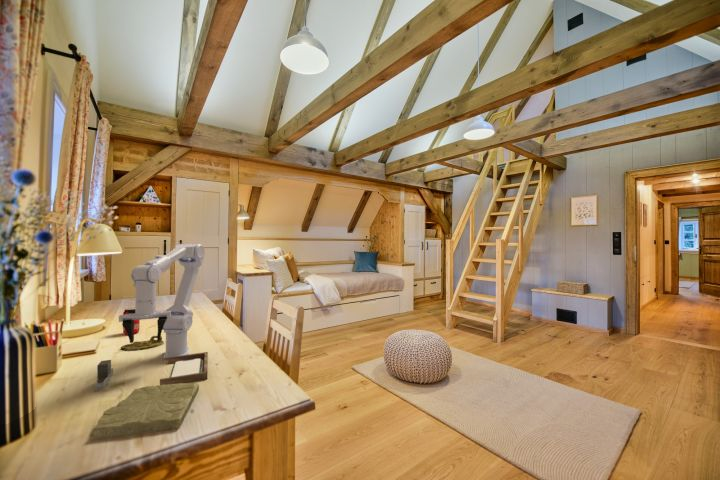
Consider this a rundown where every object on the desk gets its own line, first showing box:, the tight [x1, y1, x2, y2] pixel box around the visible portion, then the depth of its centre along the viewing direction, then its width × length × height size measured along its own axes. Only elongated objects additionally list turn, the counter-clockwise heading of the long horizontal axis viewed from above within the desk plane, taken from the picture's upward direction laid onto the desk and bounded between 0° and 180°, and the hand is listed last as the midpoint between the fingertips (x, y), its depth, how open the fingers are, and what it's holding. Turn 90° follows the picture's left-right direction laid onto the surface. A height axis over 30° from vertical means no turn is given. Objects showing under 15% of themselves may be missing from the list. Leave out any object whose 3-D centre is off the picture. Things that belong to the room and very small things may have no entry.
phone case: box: [169, 358, 203, 378], centre depth 108 cm, size 9×2×16 cm
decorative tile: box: [90, 382, 200, 441], centre depth 82 cm, size 19×20×4 cm
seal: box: [120, 335, 165, 352], centre depth 132 cm, size 9×5×15 cm
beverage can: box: [122, 307, 141, 336], centre depth 151 cm, size 6×6×12 cm
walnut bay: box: [159, 351, 209, 385], centre depth 108 cm, size 21×13×2 cm, turn 25°
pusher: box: [93, 359, 114, 393], centre depth 99 cm, size 12×2×6 cm, turn 26°
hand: (145, 340), depth 108 cm, fingers open, 7 cm apart
